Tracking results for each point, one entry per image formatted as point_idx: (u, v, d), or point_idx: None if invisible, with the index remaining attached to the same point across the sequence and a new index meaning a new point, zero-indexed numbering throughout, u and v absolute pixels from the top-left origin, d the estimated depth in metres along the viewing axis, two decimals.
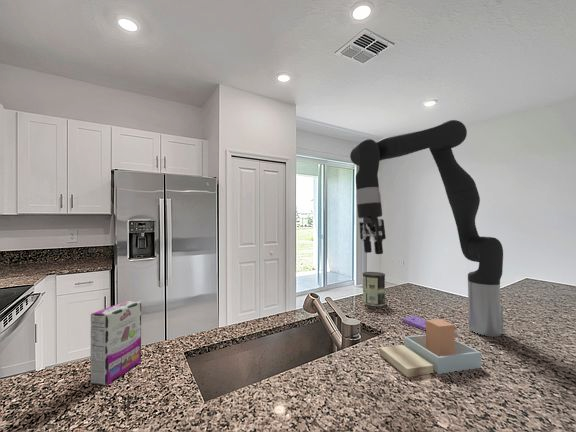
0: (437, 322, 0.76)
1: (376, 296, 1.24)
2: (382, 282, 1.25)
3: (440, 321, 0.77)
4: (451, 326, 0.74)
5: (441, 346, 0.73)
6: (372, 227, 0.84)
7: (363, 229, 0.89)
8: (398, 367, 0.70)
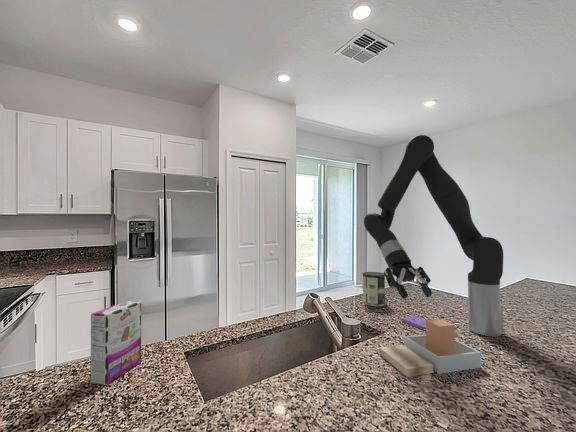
0: (437, 322, 0.76)
1: (376, 296, 1.24)
2: (382, 282, 1.25)
3: (440, 321, 0.77)
4: (451, 326, 0.74)
5: (441, 346, 0.73)
6: None
7: None
8: (398, 367, 0.70)
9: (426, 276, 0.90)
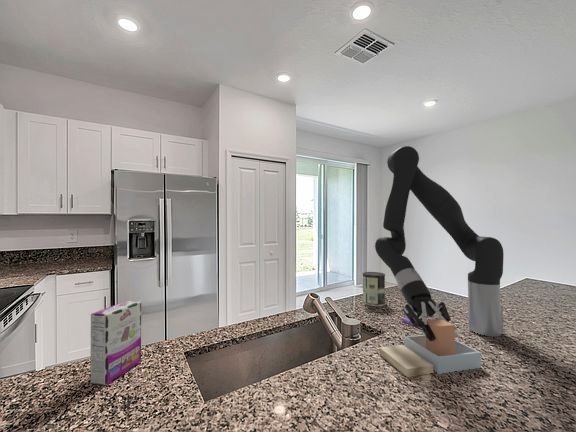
0: (437, 321, 0.76)
1: (376, 296, 1.24)
2: (382, 282, 1.25)
3: (440, 321, 0.77)
4: (451, 326, 0.74)
5: (441, 346, 0.73)
6: (416, 312, 0.81)
7: None
8: (398, 367, 0.70)
9: (446, 314, 0.80)
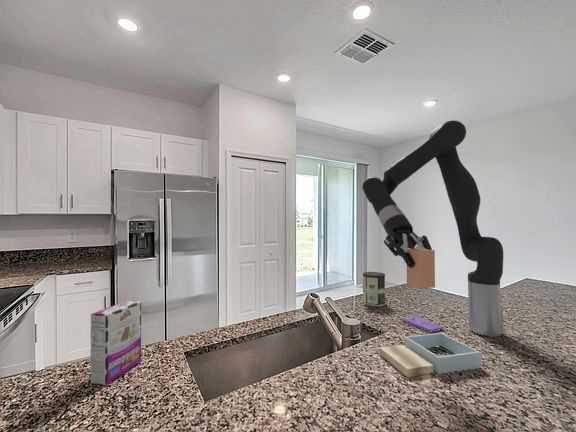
0: (418, 249, 0.76)
1: (376, 296, 1.24)
2: (382, 282, 1.25)
3: (421, 249, 0.76)
4: (431, 251, 0.73)
5: (420, 270, 0.72)
6: (397, 244, 0.80)
7: None
8: (398, 367, 0.70)
9: (428, 245, 0.79)
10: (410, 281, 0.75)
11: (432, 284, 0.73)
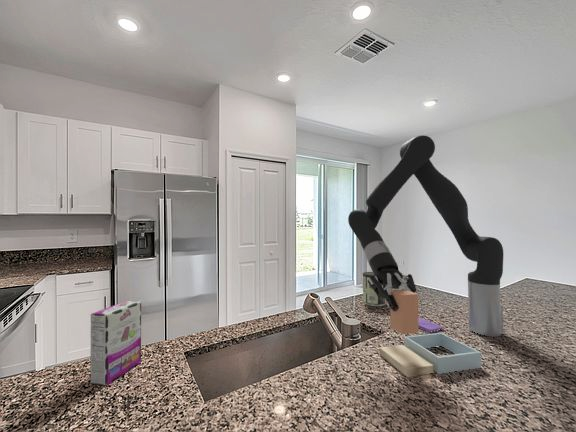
0: (402, 292, 0.74)
1: (376, 296, 1.24)
2: None
3: (405, 291, 0.74)
4: (414, 295, 0.71)
5: (403, 315, 0.71)
6: None
7: None
8: (398, 367, 0.70)
9: (412, 285, 0.78)
10: (393, 324, 0.74)
11: (415, 329, 0.71)
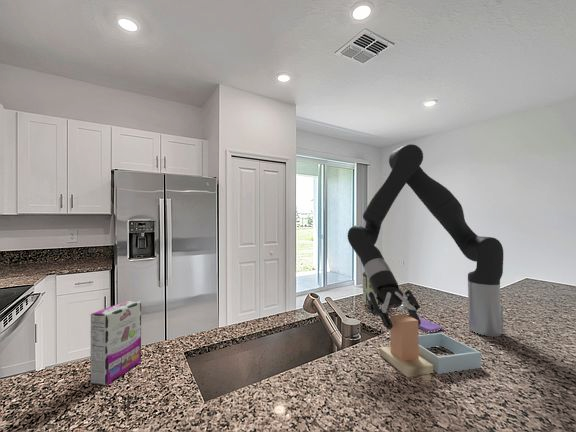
0: (402, 317, 0.74)
1: None
2: None
3: (405, 317, 0.74)
4: (414, 322, 0.71)
5: (403, 342, 0.71)
6: (380, 301, 0.79)
7: None
8: (398, 367, 0.70)
9: (415, 301, 0.78)
10: (394, 350, 0.74)
11: (416, 355, 0.71)
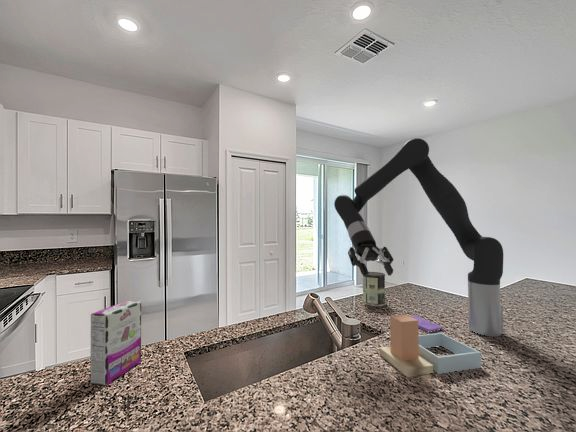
0: (402, 317, 0.74)
1: (376, 296, 1.24)
2: (382, 282, 1.25)
3: (405, 317, 0.74)
4: (414, 322, 0.71)
5: (403, 342, 0.71)
6: None
7: None
8: (398, 367, 0.70)
9: (389, 255, 0.91)
10: (394, 350, 0.74)
11: (416, 355, 0.71)
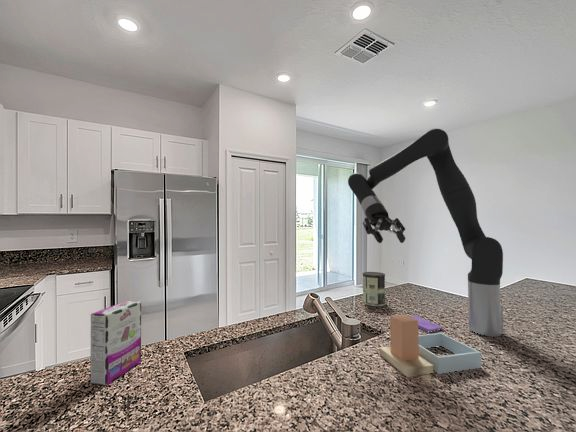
0: (402, 317, 0.74)
1: (376, 296, 1.24)
2: (382, 282, 1.25)
3: (405, 317, 0.74)
4: (414, 322, 0.71)
5: (403, 342, 0.71)
6: None
7: None
8: (398, 367, 0.70)
9: (401, 225, 0.98)
10: (394, 350, 0.74)
11: (416, 355, 0.71)
